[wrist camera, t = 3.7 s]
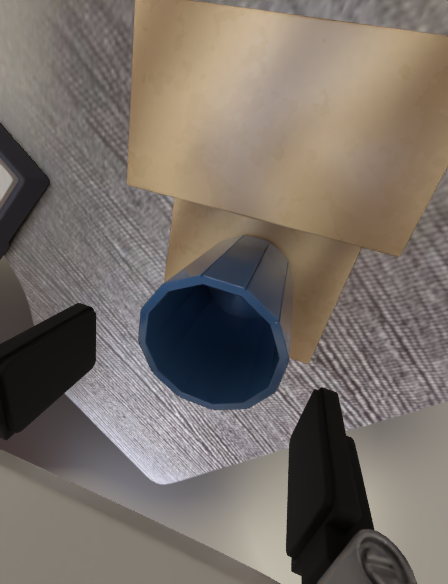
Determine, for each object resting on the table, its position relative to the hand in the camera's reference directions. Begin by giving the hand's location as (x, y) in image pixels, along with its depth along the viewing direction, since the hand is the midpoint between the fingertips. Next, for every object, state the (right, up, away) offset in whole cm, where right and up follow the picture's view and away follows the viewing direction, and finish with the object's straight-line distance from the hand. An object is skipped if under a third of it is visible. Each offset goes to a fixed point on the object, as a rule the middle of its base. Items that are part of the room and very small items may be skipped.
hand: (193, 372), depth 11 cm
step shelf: (+5, +9, +12) cm, 16 cm away
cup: (+3, +4, +9) cm, 11 cm away
